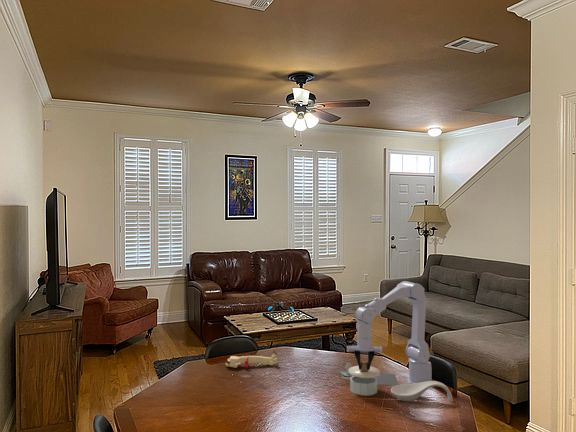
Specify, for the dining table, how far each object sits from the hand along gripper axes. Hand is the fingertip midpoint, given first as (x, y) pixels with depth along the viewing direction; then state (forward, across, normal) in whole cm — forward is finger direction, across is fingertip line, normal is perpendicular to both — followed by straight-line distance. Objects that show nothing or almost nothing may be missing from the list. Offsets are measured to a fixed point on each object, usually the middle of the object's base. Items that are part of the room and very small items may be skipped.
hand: (364, 369), depth 194 cm
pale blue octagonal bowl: (+9, 0, +1) cm, 9 cm away
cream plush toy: (+10, +53, -26) cm, 60 cm away
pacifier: (+9, +6, -15) cm, 19 cm away
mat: (+9, -8, -13) cm, 18 cm away
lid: (+1, 0, 0) cm, 1 cm away
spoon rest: (+9, -22, +6) cm, 25 cm away
